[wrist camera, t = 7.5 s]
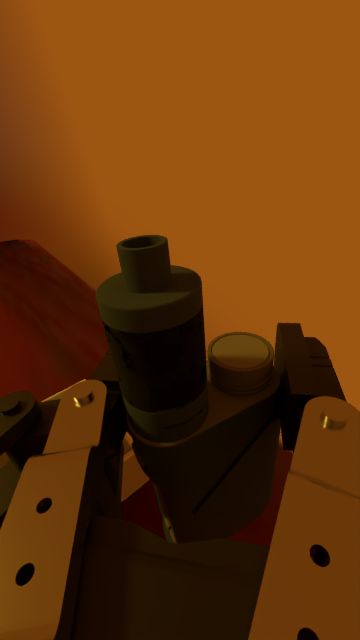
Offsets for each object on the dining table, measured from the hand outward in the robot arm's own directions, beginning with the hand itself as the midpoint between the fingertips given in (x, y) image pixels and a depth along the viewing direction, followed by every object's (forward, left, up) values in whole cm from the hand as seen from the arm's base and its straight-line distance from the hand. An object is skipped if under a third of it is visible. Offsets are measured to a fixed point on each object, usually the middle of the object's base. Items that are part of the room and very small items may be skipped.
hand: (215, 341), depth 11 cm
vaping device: (-2, -2, -7) cm, 8 cm away
